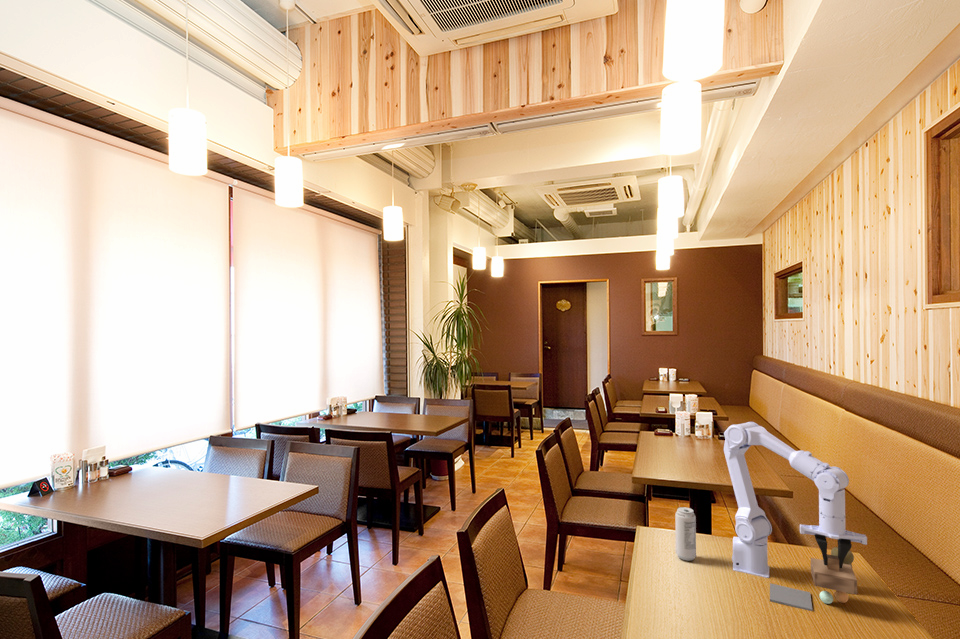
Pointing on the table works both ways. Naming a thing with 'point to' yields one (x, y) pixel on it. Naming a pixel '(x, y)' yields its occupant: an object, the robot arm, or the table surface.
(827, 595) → the mint ball
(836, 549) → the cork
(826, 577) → the walnut cover
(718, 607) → the table surface
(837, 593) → the terracotta ball
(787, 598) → the plate
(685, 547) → the energy drink can
